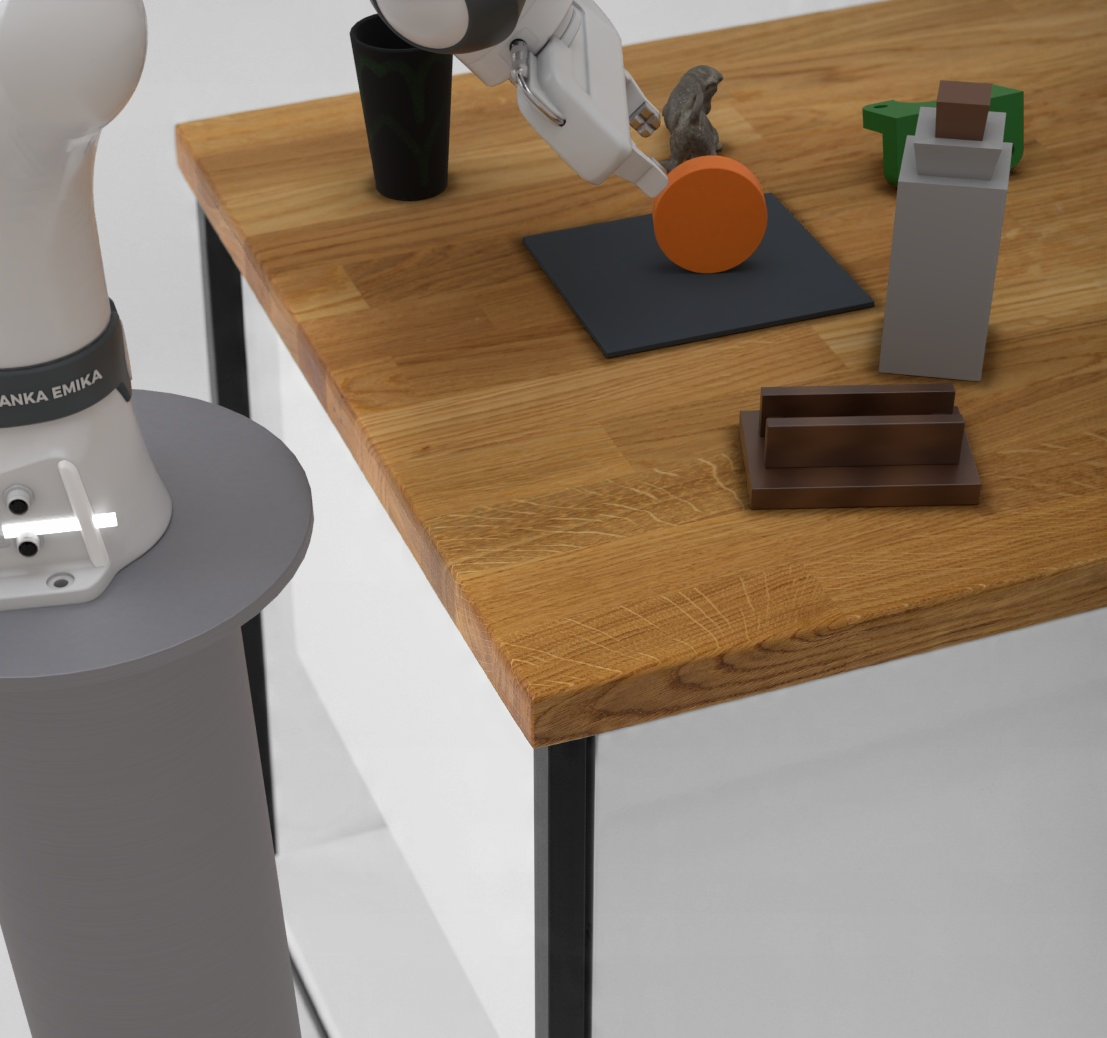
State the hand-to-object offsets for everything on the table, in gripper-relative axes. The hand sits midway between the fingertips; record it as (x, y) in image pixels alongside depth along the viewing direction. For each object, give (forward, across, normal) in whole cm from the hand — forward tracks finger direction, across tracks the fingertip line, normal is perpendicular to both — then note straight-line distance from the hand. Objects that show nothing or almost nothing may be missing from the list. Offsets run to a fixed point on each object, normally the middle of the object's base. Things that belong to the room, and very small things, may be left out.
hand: (657, 156), depth 142 cm
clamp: (+22, +16, -10) cm, 29 cm away
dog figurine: (+9, +19, +3) cm, 21 cm away
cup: (-6, +16, +19) cm, 25 cm away
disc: (+6, 0, 0) cm, 6 cm away
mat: (+8, 0, +4) cm, 9 cm away
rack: (+14, -25, -2) cm, 29 cm away
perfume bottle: (+19, -11, -6) cm, 23 cm away
